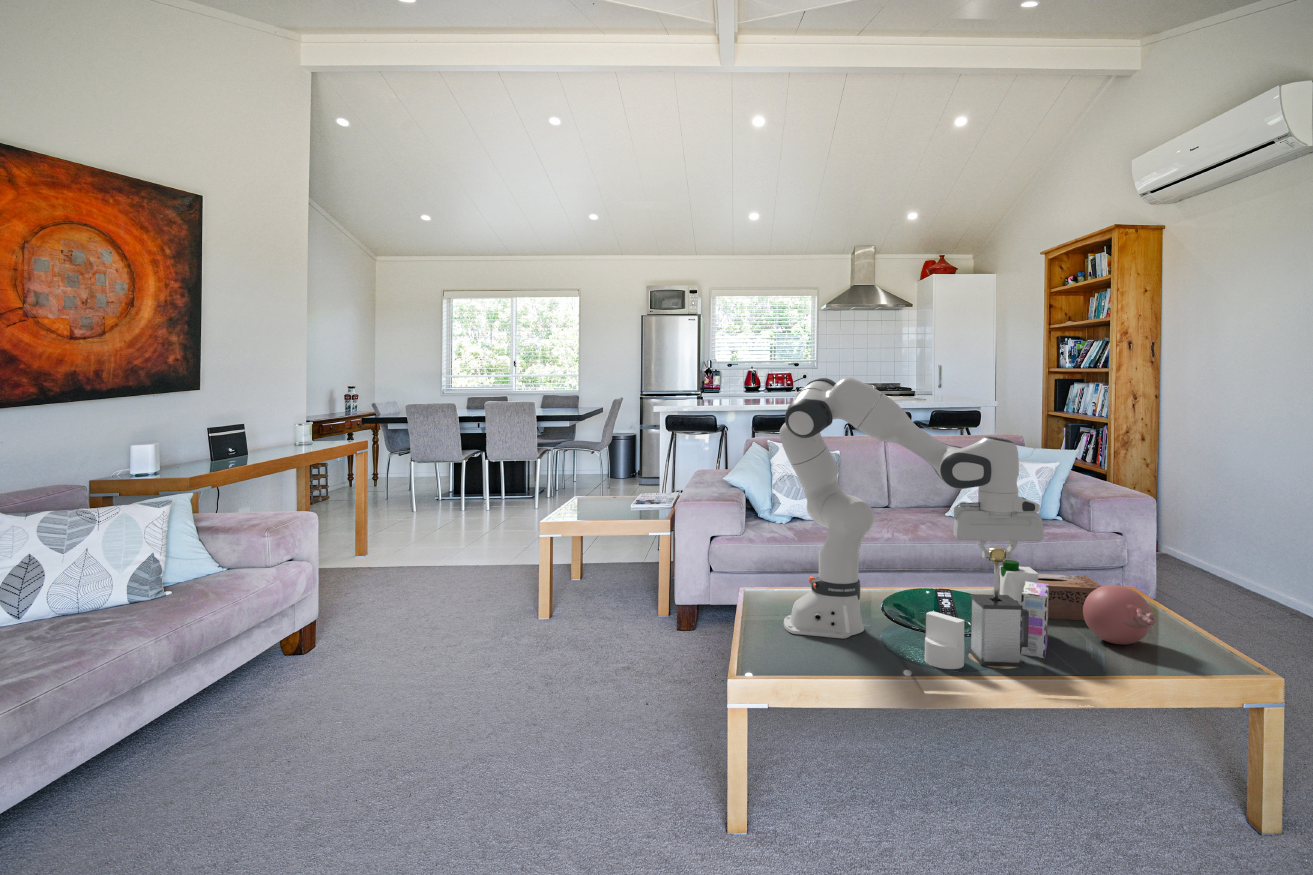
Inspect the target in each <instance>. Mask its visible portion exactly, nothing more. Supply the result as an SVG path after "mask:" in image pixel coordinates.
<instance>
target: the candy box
mask: <svg viewBox="0 0 1313 875" xmlns="http://www.w3.org/2000/svg"><path fill="white" fill-rule="evenodd" d="M1048 588H1049V584H1044V583H1036V582H1027V581H1025V585H1024V588H1023V591H1022V595H1021V605H1022V606H1023V609H1025V610H1027V611H1029V629H1028V647H1020V655H1022V656H1023V655H1024V656H1028V657H1029V656H1030V657H1035V658H1041V659H1046V654H1047V646H1048V629H1049V628H1048V627H1049V618H1048V596H1049V593H1048ZM1021 628H1022V615H1021ZM1021 628H1020V641H1021Z"/></svg>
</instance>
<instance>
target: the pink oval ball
mask: <svg viewBox="0 0 1313 875" xmlns="http://www.w3.org/2000/svg"><path fill="white" fill-rule="evenodd" d="M1101 586H1102V587H1099V588H1097V589H1095V590H1094V591H1092V592H1091V593H1090V594H1089V595H1088V596H1087V598H1086V600H1085V602H1084V605H1083V616H1084V619H1085V620H1084V621H1085V624H1086V626H1087V627H1088V628H1089V630H1090V631H1091V632H1092V633H1093V634H1094V635H1095V636H1097V637H1098V638H1099V639H1101V640H1103V641H1105V642H1107V643H1111V644H1114V645H1130V644H1134V643H1136V642H1139V641H1141V640H1142V639H1144V638H1145V637H1146V636H1147V635H1148V633H1150V630H1151V628H1152V626H1154V625H1156V623H1157V619H1156V618H1154V617H1155V614H1154V613H1153V612H1152V610H1151V607H1150V605H1149V603H1148V601H1147V600H1146V599H1145V598H1144V597H1143V596H1142V595H1141V594H1140V593H1138V592H1137V591H1136V590H1135V589H1134V590H1133V589H1132V588H1129V587H1127V586H1125V585H1120V584H1119V585H1118V584H1108V585H1101Z"/></svg>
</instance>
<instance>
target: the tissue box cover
mask: <svg viewBox="0 0 1313 875" xmlns="http://www.w3.org/2000/svg"><path fill="white" fill-rule="evenodd" d="M1038 583H1044V584H1049V588H1048V593H1049V596H1048V619H1059V620H1077V621H1085V619H1084V616H1083V605H1084V602H1085V600H1086V598H1087V596H1088V595H1089V594H1090V593H1091V592H1092V591H1094V590H1095V589H1097V588H1099V587H1102V586H1103V585H1102V584H1099V583H1098V582H1096V581H1095V580H1094V579H1093V578H1091V577H1090V576H1087V575H1076V574H1055V573H1038ZM998 595H1000V571H999V585H998Z"/></svg>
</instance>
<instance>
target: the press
mask: <svg viewBox="0 0 1313 875" xmlns="http://www.w3.org/2000/svg"><path fill="white" fill-rule="evenodd" d="M970 599H971V631H970V632H971V637H970V638H971V639H970V640H971V641H970V647H969V646H968V647H967V651H968V654H969V653H970V654H971V655H972V656H973V657H974V658H975V659H976V660H977V661H978V663H979V665H980V666H981V667H988V666H1004V667H1017V668H1023V667H1024V662H1023V661H1022V660H1021V658H1020V656H1021V654H1020V647H1028V629H1029V611H1027V610H1025V609H1023V606H1022V605H1021V604H1019V603H1018V602H1017V601H1015V600H1014V599H1013V598H1011V597H1010V596H1008V595H998V601H994V594H982V593H981V594H980V593H979V594H977V593H973V594H972V593H971V594H970ZM1021 615H1022V628H1021V641H1020V620H1021ZM1020 660H1021V661H1020ZM978 663H977V664H978Z"/></svg>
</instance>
